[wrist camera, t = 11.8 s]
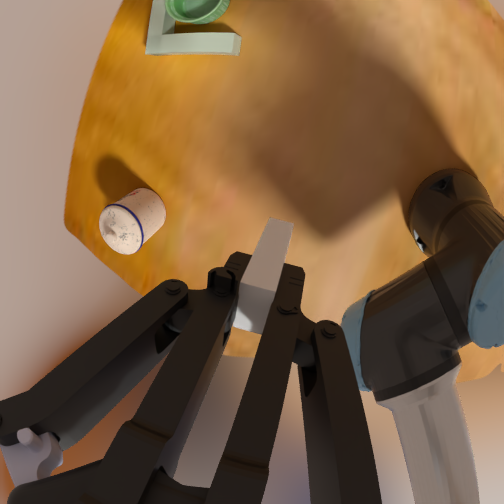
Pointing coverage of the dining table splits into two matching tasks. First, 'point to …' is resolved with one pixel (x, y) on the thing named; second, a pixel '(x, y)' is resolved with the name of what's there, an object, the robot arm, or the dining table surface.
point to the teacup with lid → (132, 220)
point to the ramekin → (196, 10)
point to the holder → (185, 37)
